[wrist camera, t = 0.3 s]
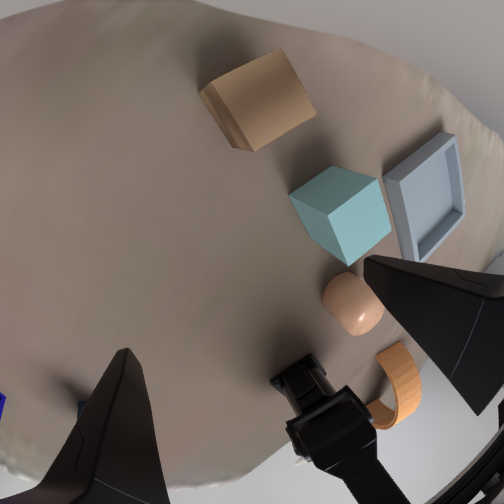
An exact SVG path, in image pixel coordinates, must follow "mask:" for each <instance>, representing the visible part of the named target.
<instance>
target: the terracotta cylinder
mask: <svg viewBox="0 0 504 504" xmlns="http://www.w3.org/2000/svg"><path fill="white" fill-rule="evenodd" d="M322 302H323V305H324V306H325V308H326V309H327V310H328V311H329V312H330V313H331V314H332V315H333V316H334V317H335V318H336V319H337V320H338V321H339V322H340V324H341V325H342V326H343V327H344V328H345V329H346V330H347V331H348V332H349V333H350V334H351V335H354V336H358V335H362V334H364V333H366V332H368V331H369V330H370V329H372V328H373V327H374V326H375V325H376V324H377V322H378V321H379V320H380V318H381V316H382V315H383V312H384V310H385V307H384V305H383V304H382V303H381V301H380V300H379V299H378V297H377V296H376V295H375V294H374V292H373V291H372V290H371V288H370V287H369V286H368V284H366V283H365V282H364V281H363V280H361V279H360V278H359V277H357V276H356V275H355V274H353V273H351V272H344V273H341V274H339V275H337V276H336V277H334V278H333V279H332V280H331V281H330V282H329V283H328V285H327V286H326V288H325V290H324V293H323V297H322Z"/></svg>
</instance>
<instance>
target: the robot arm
mask: <svg viewBox="0 0 504 504" xmlns="http://www.w3.org/2000/svg"><path fill="white" fill-rule="evenodd" d="M363 276H364V280H365V282H366V283H367V284H368V286H369V287H370V288H371V290H372V291H373V292H374V294H375V295H376V296H377V297H378V299H379V300H380V301H381V303H382V304H383V305H384V307H385V308H386V309H387V310H388V311H389V312H390V314H391V315H392V316H393V317H394V318H395V319H396V320H397V321H398V322H399V323H400V324H401V326H402V327H403V328H404V329H405V330H406V331H407V332H408V333H409V334H410V335H411V337H412V338H413V339H414V340H415V341H416V342H417V343H418V345H419V346H420V347H421V348H422V349H423V350H424V351H425V353H426V354H427V355H428V356H429V357H430V358H431V359H432V361H433V362H434V363H435V364H436V365H437V366H438V368H439V369H440V370H441V371H442V373H443V374H444V375H445V376H446V377H447V379H448V380H449V381H450V382H451V384H452V385H453V386H454V387H455V389H456V390H457V391H458V392H459V393H460V395H461V396H462V397H463V399H464V400H465V401H466V402H467V404H468V405H469V406H470V408H471V409H472V410H473V411H474V413H475V414H476V415H477V416H479V415H480V414H481V413H482V412H483V410H484V409H485V408H486V407H487V406H488V404H489V403H490V402H491V401H492V400H493V398H494V397H495V396H496V395H497V393H498V392H499V390H500V389H501V388H502V387H504V275H497V274H489V273H481V272H473V271H467V270H461V269H455V268H453V269H452V268H449V267H444V266H438V265H433V264H427V263H421V262H415V261H410V260H404V259H398V258H392V257H386V256H380V255H370V256H368V257H366V258H365V259H364V270H363ZM326 374H327V373H326V372H325V371H324V369H323V368H322V366H321V365H320V364H319V362H318V361H317V360H316V358H315V357H314V356H313V354H309V355H308V356H306V357H305V358H303V359H302V360H301V361H299V362H298V363H296V364H295V365H293V366H292V367H290V368H289V369H287V370H286V371H284V372H283V373H281V374H280V375H278V376H277V377H275V378H274V379H272V380H271V381H270V383H271V385H272V386H273V387H274V388H276V389H277V390H278V391H279V392H280V393H282V394H283V395H284V396H285V397H286V398H287V400H288V402H289V403H290V405H291V407H292V409H293V410H294V412H295V414H296V416H297V417H295V418H293V419H292V420H288V421H287V422H286V424H287V427H286V431H287V433H288V435H289V437H290V439H291V441H292V444H293V448H294V451H295V453H296V455H298V456H302V457H303V458H304V459H306V461H307V462H311V461H313V463H314V465H315V466H316V467H317V468H318V469H320V470H322V471H324V472H326V473H328V474H331V475H333V476H335V477H338V478H340V479H342V480H343V481H344V483H345V484H346V486H347V487H348V489H349V490H350V492H351V493H352V495H353V496H354V498H355V499H356V501H357V502H358V504H411V503H410V502H409V501H408V499H407V498H406V497H405V495H404V494H403V493H402V491H401V490H400V489H399V487H398V486H397V485H396V483H395V482H394V481H393V479H392V478H391V477H390V475H389V474H388V472H387V471H386V470H385V468H384V467H383V466H382V464H381V463H380V462H379V460H378V459H377V433H376V430H375V428H374V427H373V425H372V423H374V422H375V421H374V418H373V416H372V415H371V413H370V412H369V410H368V409H367V407H366V406H365V405H364V404H363V402H362V401H361V400H360V399H359V398H358V397H357V396H356V395H355V394H354V392H353V391H352V390H351V389H350V388H349V387H348V386H347V385H346V386H344V387H343V388H342V389H341V390H339V391H338V392H336V391H335V390H334V388H333V387H332V385H331V384H330V383H329V381H328V380H327V379H326V377H325V376H326ZM498 413H499V430H498V432H497V433H496V434H495V435H494V437H493V438H492V439H491V440H490V441H489V443H488V444H487V445H486V446H485V447H484V448H483V449H482V451H481V452H480V453H479V454H478V455H477V456H476V457H475V458H474V459H473V460H472V461H471V462H470V464H469V465H468V466H467V467H466V468H465V469H464V470H463V471H462V472H461V473H459V475H457V476H456V477H455V478H454V479H453V480H452V481H451V482H450V483H449V484H448V485H447V486H445V487H444V488H443V489H442V490H441V491H440V492H438V493H437V494H436V495H435V496H434V497H432V498H431V499H430V500H429V501H427V502H426V503H425V504H467V503H469V502H470V501H471V500H472V499H473V498H474V497H475V496H476V495H477V494H478V493H479V491H480V490H481V491H482V492H483V493H484V495H485V497H484V498H482V499H481V500H480V501H478V502H476V503H475V504H504V399H503V400H502V401H501V403H500V404H499V405H498ZM0 504H170V501H169V497H168V493H167V489H166V485H165V481H164V477H163V472H162V468H161V463H160V458H159V453H158V448H157V442H156V436H155V430H154V424H153V418H152V411H151V405H150V401H149V396H148V392H147V388H146V384H145V379H144V375H143V370H142V367H141V364H140V363H139V361H138V360H137V358H136V357H135V355H134V354H133V352H132V351H131V350H130V349H129V348H124V349H120V350H118V351H117V352H116V354H115V356H114V357H113V359H112V361H111V362H110V364H109V366H108V367H107V369H106V371H105V372H104V374H103V376H102V377H101V379H100V381H99V382H98V384H97V386H96V388H95V389H94V391H93V393H92V395H91V396H90V398H89V400H88V402H87V404H86V405H85V407H84V409H83V411H82V413H81V414H80V416H79V418H78V420H77V422H76V424H75V425H74V427H73V429H72V431H71V433H70V435H69V437H68V438H67V440H66V442H65V444H64V445H63V447H62V449H61V450H60V452H59V454H58V455H57V457H56V459H55V460H54V462H53V463H52V465H51V467H50V468H49V470H48V472H47V473H46V475H45V477H44V478H43V480H42V481H41V482H40V483H39V484H38V485H37V486H36V487H34V488H32V489H30V490H27V491H25V492H22V493H19V494H16V495H13V496H10V497H7V498H4V499H0Z"/></svg>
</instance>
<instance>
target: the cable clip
mask: <svg viewBox="0 0 504 504" xmlns="http://www.w3.org/2000/svg"><path fill="white" fill-rule="evenodd" d="M5 399H6V397H5V396H4V395H3V394H1V393H0V419H1V415H2V411H3V407H4V403H5Z"/></svg>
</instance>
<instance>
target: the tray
mask: <svg viewBox="0 0 504 504" xmlns="http://www.w3.org/2000/svg"><path fill="white" fill-rule="evenodd" d="M382 178H383V181H384V185H385V188H386V192H387V195H388V199H389V202H390V206H391V210H392V214H393V218H394V222H395V226H396V230H397V235H398V239H399V244H400V249H401V254H402V259H404V260H410V261H415V262H421V263H423V262H424V261H425V260H426V259H427V258H428V257H429V256H430V255H431V254H432V253H433V252H434V251H435V250H436V249H437V248H438V246H439V245H440V244H441V243H442V242H443V241H444V240H445V239H446V238H447V237H448V235H449V234H450V233H451V232H452V231H453V230H454V229H455V228H456V226H457V225H458V224H459V223H460V222H461V221H462V219H463V218H464V217H465V199H464V188H463V178H462V170H461V162H460V156H459V150H458V144H457V139H456V135H455V134H450V133H445V132H439V133H438V134H437V135H436V136H434V137H433V138H432V139H430V140H429V141H428V142H427V143H425V144H424V145H423V146H421V147H420V148H419V149H418V150H416V151H415V152H414V153H412V154H411V155H410V156H409V157H407V158H406V159H405V160H403V161H402V162H401V163H399V164H398V165H397V166H396V167H394V168H393V169H392V170H390V171H389V172H388V173H386V174H385V175H384V176H382Z"/></svg>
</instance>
